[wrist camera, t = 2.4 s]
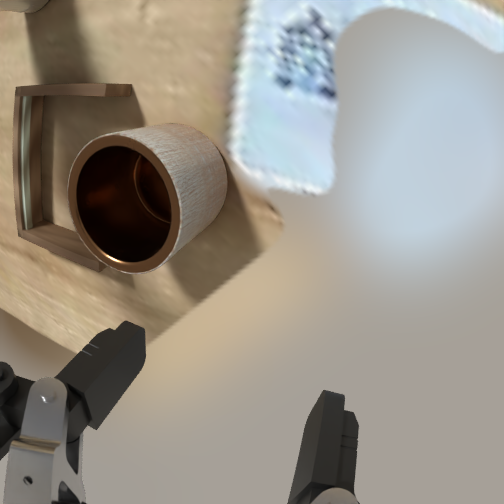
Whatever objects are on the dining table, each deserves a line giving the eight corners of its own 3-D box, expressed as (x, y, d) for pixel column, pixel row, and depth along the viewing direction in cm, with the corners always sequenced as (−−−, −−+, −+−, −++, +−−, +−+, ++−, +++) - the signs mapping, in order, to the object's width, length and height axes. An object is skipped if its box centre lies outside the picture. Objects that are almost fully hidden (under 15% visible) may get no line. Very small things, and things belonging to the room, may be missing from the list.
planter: (200, 102, 26) (141, 102, 18) (249, 211, 29) (210, 254, 21) (115, 153, 30) (49, 173, 22) (158, 245, 34) (104, 288, 25)
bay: (39, 84, 29) (15, 86, 26) (131, 84, 27) (106, 83, 23) (38, 225, 38) (18, 236, 34) (119, 256, 36) (99, 272, 32)
